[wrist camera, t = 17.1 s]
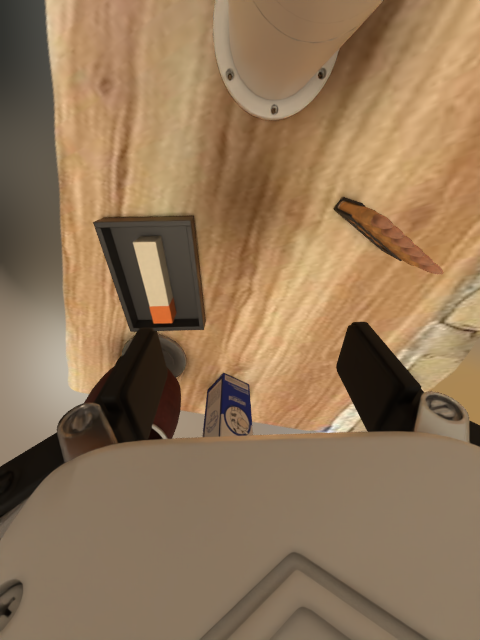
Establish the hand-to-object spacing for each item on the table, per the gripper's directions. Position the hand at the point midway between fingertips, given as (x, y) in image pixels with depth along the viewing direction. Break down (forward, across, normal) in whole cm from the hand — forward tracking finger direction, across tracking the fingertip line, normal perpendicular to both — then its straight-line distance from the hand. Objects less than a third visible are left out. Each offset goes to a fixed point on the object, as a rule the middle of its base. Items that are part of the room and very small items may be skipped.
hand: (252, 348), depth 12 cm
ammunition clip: (+26, -18, 0) cm, 32 cm away
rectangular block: (+26, +13, +7) cm, 30 cm away
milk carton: (+26, +3, +34) cm, 43 cm away
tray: (+26, +12, +7) cm, 30 cm away
